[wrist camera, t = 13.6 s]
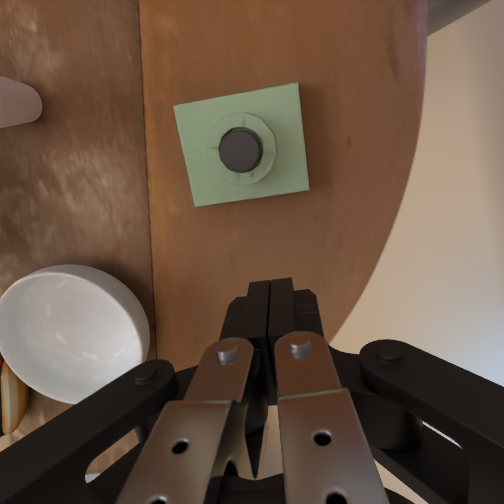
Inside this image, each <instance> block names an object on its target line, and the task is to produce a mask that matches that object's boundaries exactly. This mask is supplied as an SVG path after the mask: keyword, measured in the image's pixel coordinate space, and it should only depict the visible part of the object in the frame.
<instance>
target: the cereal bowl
mask: <svg viewBox="0 0 504 504" xmlns="http://www.w3.org/2000/svg"><path fill="white" fill-rule="evenodd" d="M149 343H150V330H149V324H148V319H147V317H146V314H145V312H144V310H143V307H142V306H141V304H140V302H139V300H138V299H137V298H136V297H135V295H134V294H133V293H132V292H131V291H130V289H128V287H126V286H125V285H124V284H123V283H122V282H120V281H119V280H118V279H116V278H115V277H113V276H112V275H109V274H108V273H105V272H104V271H101V270H99V269H95V268H92V267H88V266H83V265H71V264H65V265H55V266H51V267H47V268H44V269H40V270H38V271H36V272H33V273H31V274H29V275H27V276H25V277H23V278H21V279H20V280H18V281H17V282H15V283H14V284H12V285H11V286H10V287H9V288H8V289H7V290H6V292H5V293H4V294H3V296H2V297H1V299H0V352H1V354H2V356H3V358H4V359H5V361H6V363H7V364H8V365H9V367H10V368H11V369H12V371H13V372H14V373H15V374H16V375H17V376H18V377H19V378H20V379H21V380H22V381H23V382H25V383H26V384H27V385H28V386H30V387H31V388H33V389H34V390H36V391H37V392H39V393H41V394H43V395H45V396H47V397H50V398H52V399H55V400H58V401H61V402H65V403H70V404H77V403H78V402H80V401H82V400H83V399H85V398H86V397H88V396H89V395H91V394H93V393H94V392H96V391H97V390H99V389H100V388H102V387H104V386H105V385H107V384H108V383H110V382H111V381H113V380H115V379H116V378H118V377H119V376H121V375H122V374H124V373H126V372H127V371H129V370H130V369H132V368H133V367H135V366H137V365H139V364H141V363H144V362H145V360H146V358H147V354H148V351H149V346H150V344H149Z"/></svg>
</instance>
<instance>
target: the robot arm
mask: <svg viewBox="0 0 504 504" xmlns="http://www.w3.org/2000/svg"><path fill="white" fill-rule="evenodd" d="M271 405H277V406H278V416H279V429H280V440H281V452H282V463H283V473H282V474H278V475H274V476H271V477H268V478H264V479H262V475H263V468H264V459H265V453H266V445H267V437H268V423H267V417H268V406H271ZM423 421H424V422H426V423H427V424H429V425H430V426H432V427H434V428H435V429H437V430H438V431H440V432H442V433H443V434H445V435H446V436H448V437H450V438H451V439H453V440H454V441H455V442H457V443H458V444H459V445H460V446H461V448H460V447H459V446H457V445H455V444H454V443H452V442H451V441H449V440H448V439H446V438H444V437H443V436H441V435H440V434H438V433H437V432H435V431H433V430H432V429H430V428H429V427H427V426H425V425H424V424H423ZM134 428H135V431H136V434H137V437H138V440H139V444H137V445H136V446H135V447H134V448H132V449H131V450H130V451H129V452H127V453H126V454H125V455H124V456H122V457H121V458H120V459H119V460H117V461H116V462H115V463H114V464H113V465H111V466H110V467H109V468H108V469H106V470H105V471H104V472H103V473H101V474H100V475H99V476H98V477H96V478H95V479H94V480H92V481H91V482H89V483H86V481H85V474H86V470H87V468H88V466H89V465H90V463H91V462H92V461H93V460H94V459H95V458H96V457H97V456H98V455H100V454H101V453H102V452H104V451H105V450H106V449H108V448H109V447H110V446H112V445H113V444H114V443H115V442H117V441H118V440H119V439H121V438H122V437H123V436H125V435H126V434H127V433H129V432H130V431H131V430H132V429H134ZM373 458H374V459H375V460H376V461H377V462H378V463H379V464H381V465H382V466H383V467H385V468H386V469H387V470H388V471H389V472H391V473H392V474H393V475H394V476H396V477H397V478H398V479H399V480H400V481H402V482H403V483H404V484H405V485H407V486H408V487H409V488H410V489H412V490H413V491H414V492H415V493H417V494H418V495H419V496H420V497H421V498H423V499H424V500H425V501H426V502H428V503H429V504H504V387H503V386H501V385H498V384H496V383H494V382H492V381H489V380H487V379H485V378H483V377H481V376H478V375H476V374H474V373H472V372H470V371H467V370H465V369H463V368H460V367H458V366H456V365H454V364H452V363H449V362H447V361H445V360H443V359H440V358H438V357H436V356H434V355H431V354H429V353H427V352H425V351H423V350H421V349H418V348H416V347H414V346H412V345H409V344H407V343H404V342H401V341H397V340H389V339H387V340H377V341H373V342H370V343H368V344H366V345H365V346H364V347H363V348H362V349H361V350H360V353H359V354H351V353H345V352H341V351H338V350H336V349H334V348H332V347H331V346H330V345H328V343H327V342H326V340H325V338H324V334H323V329H322V324H321V319H320V314H319V309H318V304H317V299H316V295H315V294H314V293H312V292H311V291H310V290H309V289H305V290H296V291H294V289H293V282H292V277H291V278H282V279H273V280H271V281H270V280H265V281H257V282H250V283H249V288H248V294H247V296H243V297H236V298H235V299H234V300H233V301H232V302H231V303H230V304H229V306H228V310H227V315H226V317H225V322H224V324H223V327H222V331H221V334H220V338H219V341H217V342H215V343H213V344H212V345H210V346H209V347H208V348H207V349H206V350H205V352H204V354H203V356H202V358H201V360H200V363H199V365H197V366H194V367H191V368H188V369H185V370H181V371H178V372H175V371H174V368H173V365H172V364H171V363H170V362H169V361H166V360H160V359H158V360H150V361H146V362H144V363H141V364H139V365H137V366H135V367H133V368H132V369H130V370H129V371H127V372H126V373H124V374H122V375H121V376H119V377H118V378H116V379H115V380H113V381H111V382H110V383H108V384H107V385H105V386H104V387H102V388H100V389H99V390H97V391H96V392H94V393H93V394H91V395H89V396H88V397H86V398H85V399H83V400H82V401H80V402H78V403H77V404H75V405H74V406H72V407H71V408H69V409H67V410H66V411H64V412H63V413H61V414H60V415H58V416H56V417H55V418H53V419H52V420H50V421H49V422H47V423H45V424H44V425H42V426H41V427H39V428H38V429H36V430H34V431H33V432H31V433H30V434H28V435H27V436H25V437H23V438H22V439H20V440H19V441H17V442H16V443H14V444H12V445H11V446H9V447H8V448H6V449H5V450H3V451H1V452H0V504H414V503H413V502H411V501H410V500H408V499H407V498H405V497H403V496H401V495H399V494H398V493H396V492H394V491H391V490H389V489H387V488H385V487H383V484H382V481H381V478H380V475H379V473H378V470H377V467H376V464H375V462H374V459H373Z"/></svg>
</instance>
